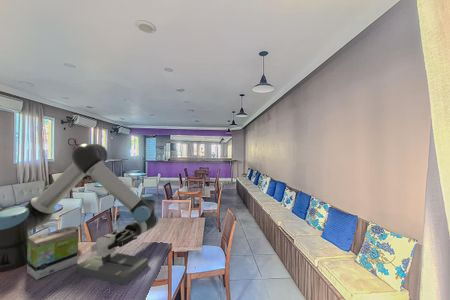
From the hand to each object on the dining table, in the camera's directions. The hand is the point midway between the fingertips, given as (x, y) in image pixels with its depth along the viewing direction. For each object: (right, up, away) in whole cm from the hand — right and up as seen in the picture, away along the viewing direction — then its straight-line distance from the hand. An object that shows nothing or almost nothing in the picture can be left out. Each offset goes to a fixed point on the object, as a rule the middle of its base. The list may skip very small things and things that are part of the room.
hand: (96, 250), depth 88 cm
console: (+5, -10, +4) cm, 12 cm away
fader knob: (+1, -7, +5) cm, 8 cm away
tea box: (-21, -10, +5) cm, 24 cm away
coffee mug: (-27, -10, +23) cm, 37 cm away
